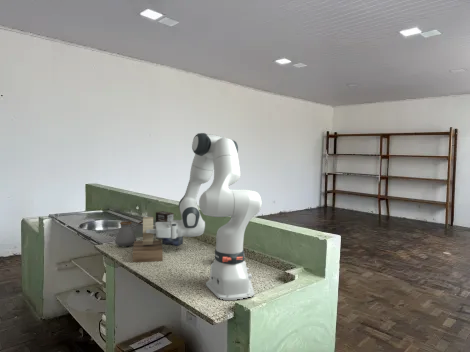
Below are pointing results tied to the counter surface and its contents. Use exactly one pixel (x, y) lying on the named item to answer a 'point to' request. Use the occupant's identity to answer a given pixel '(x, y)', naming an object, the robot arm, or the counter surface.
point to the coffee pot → (126, 234)
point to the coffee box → (164, 217)
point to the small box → (173, 241)
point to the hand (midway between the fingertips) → (146, 229)
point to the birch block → (147, 225)
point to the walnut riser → (147, 251)
